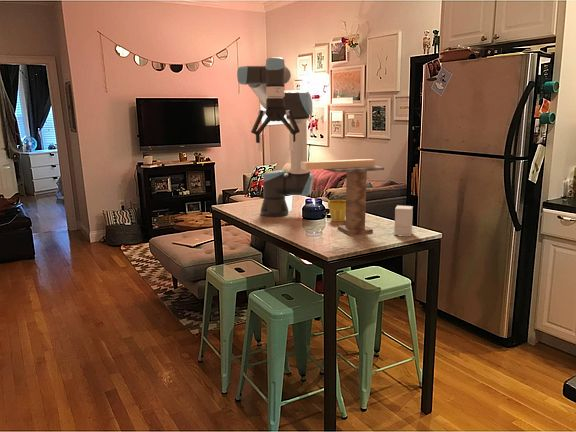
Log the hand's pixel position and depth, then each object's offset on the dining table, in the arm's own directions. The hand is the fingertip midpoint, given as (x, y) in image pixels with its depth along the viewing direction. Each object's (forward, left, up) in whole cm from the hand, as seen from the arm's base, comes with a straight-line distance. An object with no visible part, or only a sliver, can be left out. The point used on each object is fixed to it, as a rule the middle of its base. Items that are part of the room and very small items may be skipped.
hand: (275, 150), depth 200 cm
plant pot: (+30, +39, -39) cm, 63 cm away
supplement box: (+57, +11, -39) cm, 70 cm away
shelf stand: (+34, +16, -39) cm, 54 cm away
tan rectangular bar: (+27, +14, -9) cm, 32 cm away
